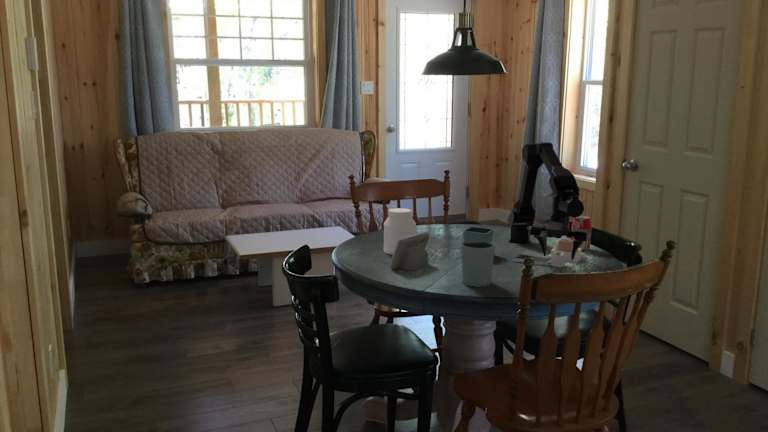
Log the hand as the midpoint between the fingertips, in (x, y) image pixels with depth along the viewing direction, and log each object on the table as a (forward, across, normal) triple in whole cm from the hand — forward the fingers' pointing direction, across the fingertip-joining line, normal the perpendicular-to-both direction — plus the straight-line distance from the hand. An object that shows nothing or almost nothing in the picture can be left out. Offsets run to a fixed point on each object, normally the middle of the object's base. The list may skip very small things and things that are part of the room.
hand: (558, 257), depth 222 cm
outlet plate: (+2, 0, +12) cm, 12 cm away
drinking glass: (+3, -16, -32) cm, 36 cm away
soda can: (+3, 0, +26) cm, 27 cm away
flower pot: (+3, -28, 0) cm, 29 cm away
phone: (+2, -8, 0) cm, 9 cm away
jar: (+3, -54, -10) cm, 56 cm away
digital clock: (+3, -42, -26) cm, 50 cm away
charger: (+2, 0, +11) cm, 12 cm away
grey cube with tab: (+3, 0, 0) cm, 3 cm away
